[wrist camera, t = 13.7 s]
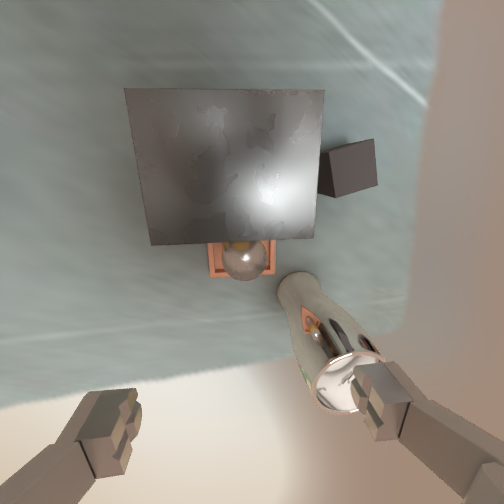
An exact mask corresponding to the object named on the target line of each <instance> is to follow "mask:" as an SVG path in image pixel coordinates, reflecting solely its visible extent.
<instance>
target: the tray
mask: <svg viewBox="0 0 504 504" xmlns="http://www.w3.org/2000/svg"><path fill="white" fill-rule="evenodd" d="M262 242H263V244H264V246H265V248H266V251H267V265H266V268H265V270H264V271H263V272H262V274H260V275H267V274H275V248H276V240H264V241H262ZM207 245H208V257H209V268H210V278H217V277H231V276H229V275H228V274H227V272H226V271H225V269H224V267H223V264H222V259H221V255H222V248H223V242H221V243H207Z"/></svg>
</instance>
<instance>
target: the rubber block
mask: <svg viewBox="0 0 504 504" xmlns="http://www.w3.org/2000/svg"><path fill="white" fill-rule="evenodd" d="M377 185H378V183H377V170H376V158H375V146H374V139H369V140H364V141H359V142H355V143H350V144H346V145H343V146H339V147H336V148H333V149H330V150H326V151H323V152H320V157H319V171H318V184H317V191H318V193H319V194H323V195H327V196H330V197H334V198H337V197H341V196H344V195H347V194H351V193H354V192H357V191H360V190H364V189H367V188H370V187H374V186H377Z"/></svg>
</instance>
